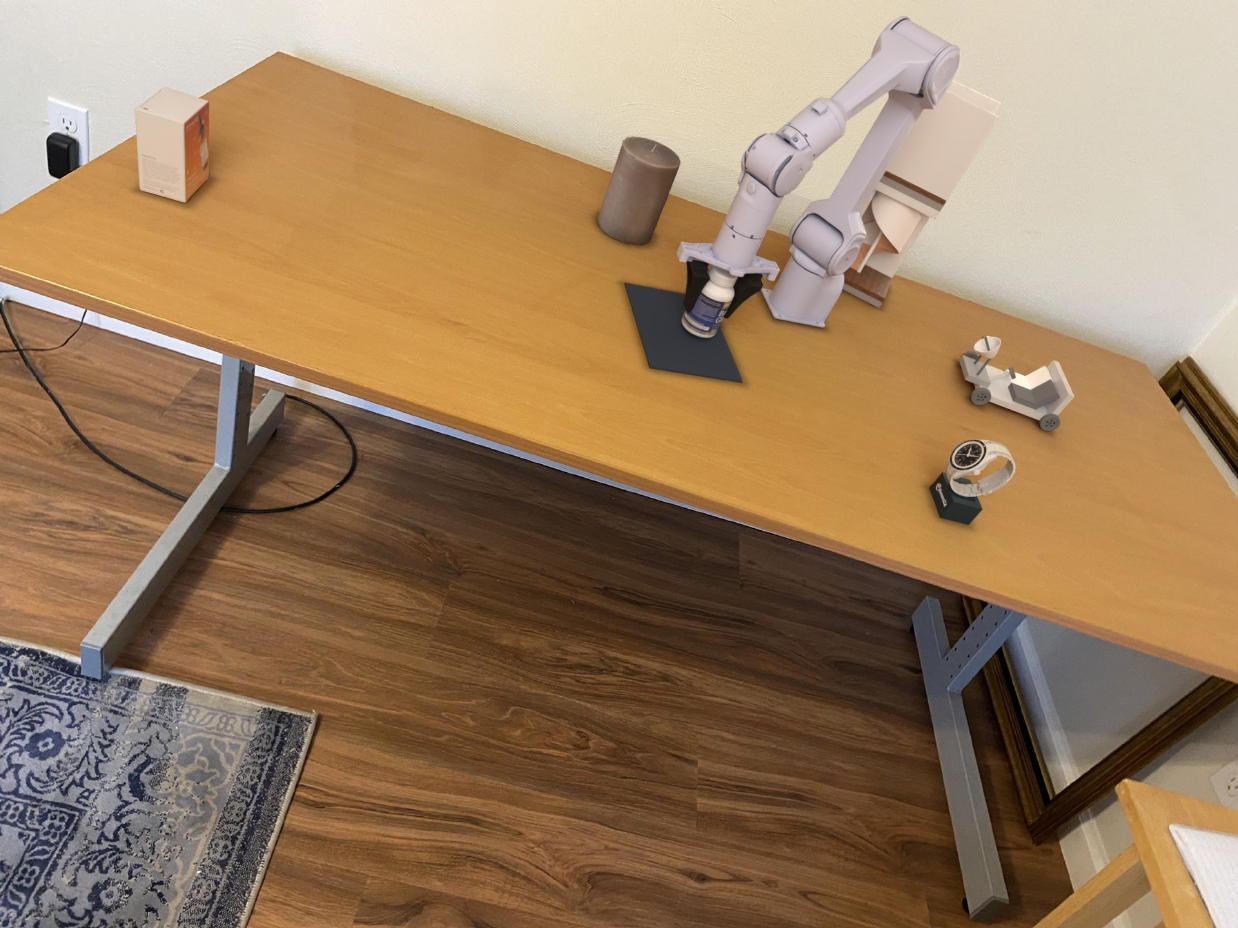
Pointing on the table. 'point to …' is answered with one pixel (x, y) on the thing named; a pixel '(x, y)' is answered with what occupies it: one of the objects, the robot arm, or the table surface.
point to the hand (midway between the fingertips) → (705, 311)
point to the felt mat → (677, 337)
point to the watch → (958, 493)
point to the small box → (172, 144)
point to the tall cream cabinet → (918, 186)
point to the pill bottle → (711, 304)
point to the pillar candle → (638, 190)
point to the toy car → (1017, 385)
